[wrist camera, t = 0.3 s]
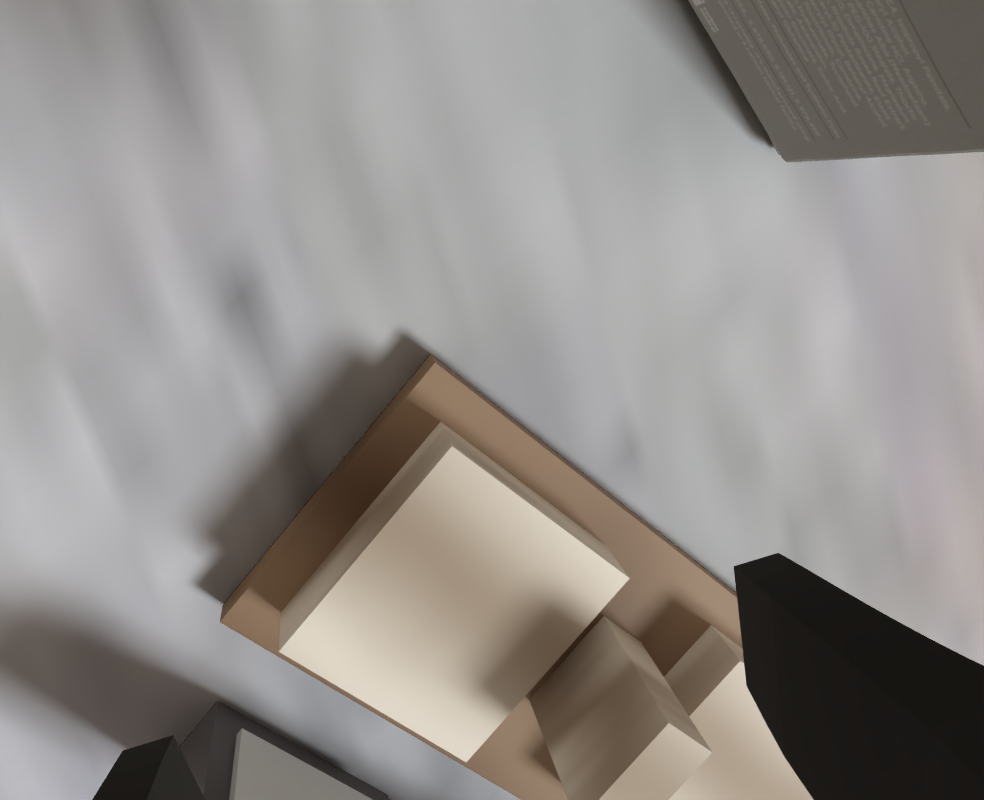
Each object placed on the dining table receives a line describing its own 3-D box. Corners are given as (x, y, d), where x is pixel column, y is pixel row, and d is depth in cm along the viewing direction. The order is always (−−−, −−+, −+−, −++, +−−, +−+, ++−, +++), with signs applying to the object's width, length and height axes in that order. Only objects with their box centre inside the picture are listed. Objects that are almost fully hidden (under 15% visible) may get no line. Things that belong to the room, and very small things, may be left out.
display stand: (687, 882, 27) (770, 1046, 22) (223, 604, 22) (198, 744, 17) (865, 694, 26) (991, 821, 22) (430, 354, 21) (468, 423, 16)
